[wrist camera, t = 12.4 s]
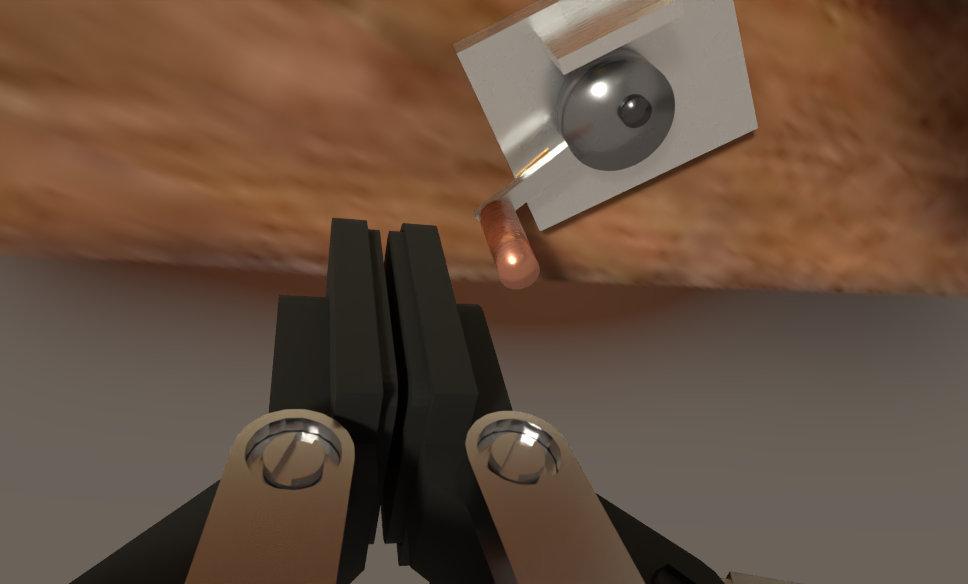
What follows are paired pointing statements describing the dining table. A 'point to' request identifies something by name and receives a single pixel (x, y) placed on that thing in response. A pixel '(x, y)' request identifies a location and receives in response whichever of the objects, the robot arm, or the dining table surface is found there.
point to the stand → (583, 38)
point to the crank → (582, 147)
